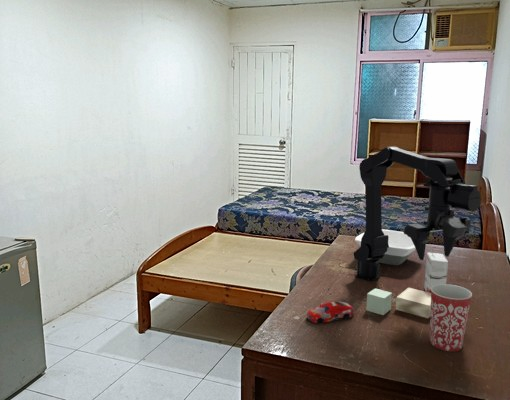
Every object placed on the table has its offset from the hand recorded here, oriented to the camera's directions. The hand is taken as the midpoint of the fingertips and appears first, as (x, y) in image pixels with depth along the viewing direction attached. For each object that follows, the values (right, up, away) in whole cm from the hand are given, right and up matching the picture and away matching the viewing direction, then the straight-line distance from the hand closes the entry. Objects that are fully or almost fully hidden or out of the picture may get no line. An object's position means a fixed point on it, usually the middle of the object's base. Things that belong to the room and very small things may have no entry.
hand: (434, 258), depth 131 cm
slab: (-5, -14, -2) cm, 15 cm away
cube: (-17, -14, -3) cm, 22 cm away
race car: (-31, -15, -8) cm, 35 cm away
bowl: (-1, -6, +41) cm, 41 cm away
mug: (-5, -18, -20) cm, 27 cm away
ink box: (+4, -12, +9) cm, 16 cm away
